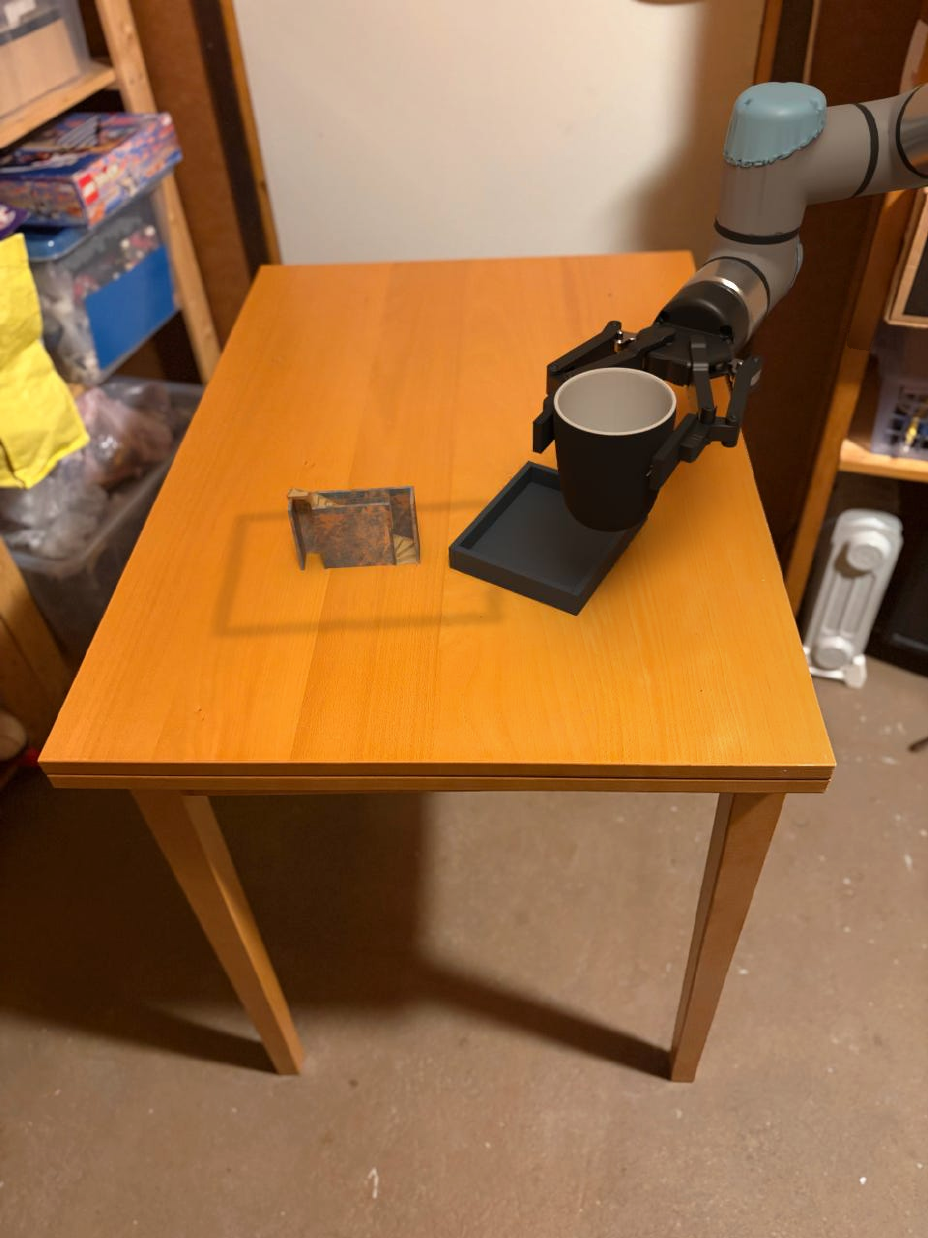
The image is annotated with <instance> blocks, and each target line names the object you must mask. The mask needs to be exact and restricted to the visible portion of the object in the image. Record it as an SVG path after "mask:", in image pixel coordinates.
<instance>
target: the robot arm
mask: <svg viewBox="0 0 928 1238" xmlns="http://www.w3.org/2000/svg"><path fill="white" fill-rule="evenodd" d="M827 103H828V102H827V99H826V96H825V94H824V93H823V91H821V90H820V89H818V88H817V87H815V86H813V85H809V84H805V83H800V82H794V81H787V82H777V81H771V82H763V83H759V84H756V85H753V86H750V87H748V88H747V89H744V91H742V93H741V94H739V95H738V97H737V98H736V99H735V102H734V104H733V108H732V112H731V116H730V119H729V123H728V127H727V128H728V129H727V132H726V137H725V142H724V145H723V152H722V154H723V158H722V166H721V175H720V183H719V193H718V201H717V208H716V214H715V217H714V223H713V228H712V235H711V242H710V248H709V253H708V258H707V260H706V261H705V262H704V263H703V264H702V266H701V267H700V268H699V269H698V270H697V271H696V272H695V273H694V274H693V275H692V276H691V277H690V278H689V279H688V280H687V281H685V283H684V284H683V285H682V287H680V289H679V290H678V291H677V293H676V294H674V295H673V296H672V297H671V298H670V300H669V301H668V302H667V303H666V304H665V305H664V306H663V307H662V308H661V310H660V311H659V312H658V314H657V315H656V316H655V318H654V320H653V322H652V323H651V324H650V325H649V326H647V327H644V328H641V329H640V330H638V332H632V331H627V330H623V329H622V325H623V324H622V322H621V321H619V320H610V321H608V322H607V323H606V325H605V326H604V328H603V329H602V330H601V332H599V333H597V334H595V335H594V336H592V337H591V338H589V339H588V340H586V341H584V342H582V343H581V344H579V345H578V346H575V348H572V349H571V350H569V351H568V352H566V353H564V354H563V355H561V356H559V357H558V358H556V359H555V360H553V361H551V362H549V363H548V364H547V365H546V376H545V377H546V379H545V380H546V381H545V382H546V383H545V394H546V395H547V396H546V397H545V398H544V399H543V401H542V411H541V412H540V414H539V415H537V417H535V418H534V420H533V421H532V453H535V454H539V455H542V454H543V453H544V452H545V451H546V450H547V449H548V448H549V446H550V445H552V443H554V442H555V440H554V425H553V403H554V397H555V394H556V392H557V390H558V389H559V388H560V387H561V386H562V385H563V384H564V383H565V382H566V381H567V380H569V379H571V378H572V377H574V376H576V375H579V374H581V373H584V372H587V371H591V370H596V369H602V368H628V369H635V370H639V371H643V372H646V373H649V374H652V375H654V376H656V377H658V378H660V379H661V380H663V381H664V382H666V383H667V382H668V383H670V384H672V385H674V386H678V387H684V386H685V390H686V398H687V400H689V406H690V412H687V413H686V414H685V415H684V417H683V418H682V419H681V420H680V422H679V423H678V425H677V426H676V427H675V428H674V431H673V432H672V434H671V435H670V437H669V438H668V439H667V440H666V441H665V443H664V444H663V445H662V447H661V448H660V449H659V450H658V452H657V453H656V454H655V456H654V457H653V460H652V468H651V476H650V484H649V489H653V490H656V491H659V490H660V491H661V489H662V488H663V486H664V484H666V483H667V481H668V480H669V478H670V477H671V475H672V474H673V473H674V472H675V470H676V469H677V467H678V466H679V464H680V463H681V462H684V463H687V464H692V463H695V462H696V460H697V459H698V458H699V456H700V455H701V453H702V452H703V451H704V449H705V448H706V446H709V445H711V443H712V442H719V443H720V445H721V446H722V447H724V448H727V449H732V448H735V447H737V445H738V442H739V437H740V432H741V428H742V424H743V419H744V415H745V411H746V407H747V403H748V398H749V396H751V395H752V394H753V392H755V391H756V390H757V389H758V387H759V384H760V379H761V375H762V369H763V365H764V360H765V359H764V357H763V356H761V355H759V354H758V355H757V354H752V355H749V356H748V357H747V358H746V359H745V360H743V359H740V358H737V356H738V354H739V353H740V352H741V351H742V349H743V348H744V346H745V345H746V344H747V342H749V340H750V339H751V337H752V336H753V335H754V333H755V332H756V331H757V329H758V328H759V327H760V325H761V324H762V323H763V322H764V320H765V319H766V317H767V316H768V315H769V314H770V313H771V311H772V310H773V309H774V307H775V306H776V305H777V304H778V303H779V302H780V301H781V300H783V298H784V297H785V296H786V295H787V294H788V292H789V290H790V289H792V287H793V285H794V283H795V281H796V278H797V276H798V274H799V272H800V270H801V267H802V265H803V260H804V259H803V258H804V248H803V244H802V241H801V239H800V238H801V237H800V235H799V234H800V232H801V228H802V227H801V226H802V222H803V220H804V215H805V211H806V207H807V206H810V205H818V204H823V203H829V202H835V201H841V200H848V199H854V198H857V197H864V196H870V195H871V196H872V195H877V194H884V193H885V194H886V193H890V192H899V191H905V190H910V191H913V190H920V189H924V188H928V82H926V83H923V84H921V85H918V86H917V87H914V88H912V89H909V90H907V91H905V92H903V93H901V94H898V95H895V96H890V97H886V98H881V99H875V100H870V101H863V102H859V103H857V102H855V103H846V104H840V105H834V106H833V105H832V106H827ZM728 374H729V376H730V377H729V380H730V382H732V390H731V394H730V397H729V401H728V406H727V409H726V413H725V416H718V415H717V412H718V411H717V410H718V405H715V402H714V396H713V389H712V385H711V380H715V379H719V378H722V377H725V376H727V375H728ZM660 491H659V492H660Z"/></svg>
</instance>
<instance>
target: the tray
mask: <svg viewBox="0 0 928 1238" xmlns="http://www.w3.org/2000/svg"><path fill="white" fill-rule="evenodd" d="M648 519H649V514H648V515H647V517H646V518H645V519H644V520H643V521H642V522H640V523H639V524H638V525H636V526H634V527H632V528H630V529H627V530H623V531H617V532H603V531H597V530H593V529H590V528H588V527H586V526H584V525H582V524H581V523H579V522H578V521H577V520H576V519H575V518H574V517H573V516H572V515H571V513H570V511H569V510H568V508H567V506H566V503H565V500H564V497H563V494H562V490H561V485H560V480H559V474H558V469H556V468H552V467H550V466H548V465H547V466H546V465H543V464H540V463H537V462H534V461H531V460H527V461H526V462H525V464H524V465H523V466H522V467H521V468H519V470H518V471H517V472H516V473H515V474H514V476H513V477H512V478H510V480H509V481H508V482H506V484H505V485H504V486H503V487H502V488H501V489H500V491H499V492H498V493H496V495H495V496H493V498H492V499H491V501H489V502H488V503H487V505H486V506H485V507H484V508H483V509H482V510H481V511H480V512H479V513H478V515H476V517H474V519H473V520H472V521H471V522H470V523H469V524H468V525H467V526H466V528H465V529H464V530H463V531H462V532H461V533H460V534H459V536H457V537H456V538H455V540H454V541H453V542H452V543H451V544H450V545H449V546H448V548H447V549H448V562H449V568H450V569H453V570H455V571H459V572H461V573H464V574H467V575H468V576H471V577H475V578H477V579H479V580H482V581H485V582H487V583H490V584H492V585H495V586H498V587H500V588H503V589H506V590H508V591H510V592H513V593H516V594H518V595H521V596H524V597H527V598H529V599H531V600H534V601H537V602H539V603H542V604H544V605H547V606H550V607H552V608H554V609H557V610H560V611H563V612H565V613H569V615H573V616H575V617H577V616H578V615H579V614H580V613H581V612H582V610H583V609H584V608H585V606H586V604H587V603H588V602H589V600H590V599H591V597H592V596H594V594H595V592H596V590H597V589H598V588H599V587H600V585H601V584H602V582H603V581H604V580H605V578H606V577H607V576H608V574H609V573H610V571H612V569H613V567H614V566H615V564H616V563H617V562H618V561H619V559H620V557H621V556H622V555H623V554H624V552H625V551H626V549H627V548H628V547H629V546H630V544H631V542H632V541H633V540H634V539H635V537H636V536H637V535H638V533H639V531H640V530H641V529H642V528H643V526H644V525H645V523H646V522H647V521H648Z"/></svg>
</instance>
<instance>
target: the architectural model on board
mask: <svg viewBox="0 0 928 1238" xmlns="http://www.w3.org/2000/svg"><path fill="white" fill-rule="evenodd" d="M285 497H286V499H287V501H288V503H287V504H288V505H287V511H286V512H287V514H288V515H287V516H288V519H289V523H290V528H291V532H292V537H293V540H294V545H295V549H296V553H297V558H298V562H299V566H300V570H301V571H305V569H306V561H307V555H318V554H321V558H322V564H323V567H324V570H328V569H344V568H345V569H347V568H361V567H362V568H363V567H364V568H365V567H379V566H380V567H381V566H396V567H398V566H408V565H415V566H418V565H419V564H421V542H420V532H419V522H418V515H417V505H416V495H415V486H414V485H405V486H404V485H403V486H388V487H387V486H386V487H385V486H384V487H370V488H369V487H368V488H353V489H352V488H351V489H350V488H349V489H335V490H321V491H320V490H318V491H313V490H305V489H301V488H297V487H293V486H292V487H291V488H290V489H289V491H288V493H287V494H286V495H285Z"/></svg>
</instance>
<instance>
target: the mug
mask: <svg viewBox="0 0 928 1238" xmlns="http://www.w3.org/2000/svg"><path fill="white" fill-rule="evenodd" d="M677 402H678V401H677V397H676V393H675V392H674V390H673V389H672V387H671V386H670V385H669V384H668V383H667V382H666V381H663V380H661V379H660V378H658V377H656V376H654V375H652V374H649V373H646V372H643V371H639V370H635V369H628V368H602V369H596V370H591V371H587V372H584V373H581V374H579V375H576V376H574V377H572V378H571V379H569V380H567V381H566V382H565V383H564V384H563V385H562V386H561V387H560V388H559V389H558V390H557V392H556V394H555V397H554V403H553V425H554V451H555V459H556V466H557V470H558V474H559V480H560V485H561V490H562V494H563V497H564V500H565V503H566V506H567V508H568V510H569V511H570V513H571V515H572V516H573V517H574V518H575V519H576V520H577V521H578V522H579V523H581V524H582V525H584V526H586V527H588V528H590V529H593V530H597V531H603V532H617V531H623V530H627V529H630V528H632V527H634V526H636V525H638V524H639V523H640V522H642V521H643V520H644V519H645V518H646V517H647V515H648V516H649V514H650V513H651V511H652V510H653V508H654V506H655V504H656V501H657V499H658V497H659V494H660V491H661V489H660V490H659V491H656V490H653V489H649V484H650V476H651V468H652V460H653V457H654V456H655V454H656V453H657V452H658V450H659V449H660V448H661V447H662V445H663V444H664V443H665V441H666V440H667V439H668V438H669V437H670V435H671V434H672V432H673V431H674V430H675V424H676V418H677V408H678V407H677V404H678V403H677Z"/></svg>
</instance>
